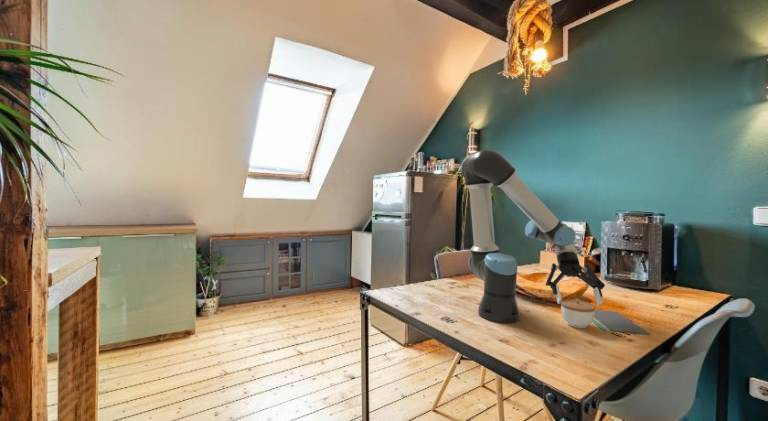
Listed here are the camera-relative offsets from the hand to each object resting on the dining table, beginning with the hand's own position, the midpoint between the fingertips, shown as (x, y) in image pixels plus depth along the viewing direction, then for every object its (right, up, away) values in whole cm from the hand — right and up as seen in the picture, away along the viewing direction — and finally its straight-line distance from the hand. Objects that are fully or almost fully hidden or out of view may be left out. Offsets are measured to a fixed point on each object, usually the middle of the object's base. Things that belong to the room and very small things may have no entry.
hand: (580, 303), depth 120 cm
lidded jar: (-2, -7, -2) cm, 8 cm away
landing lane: (+14, -8, +3) cm, 16 cm away
